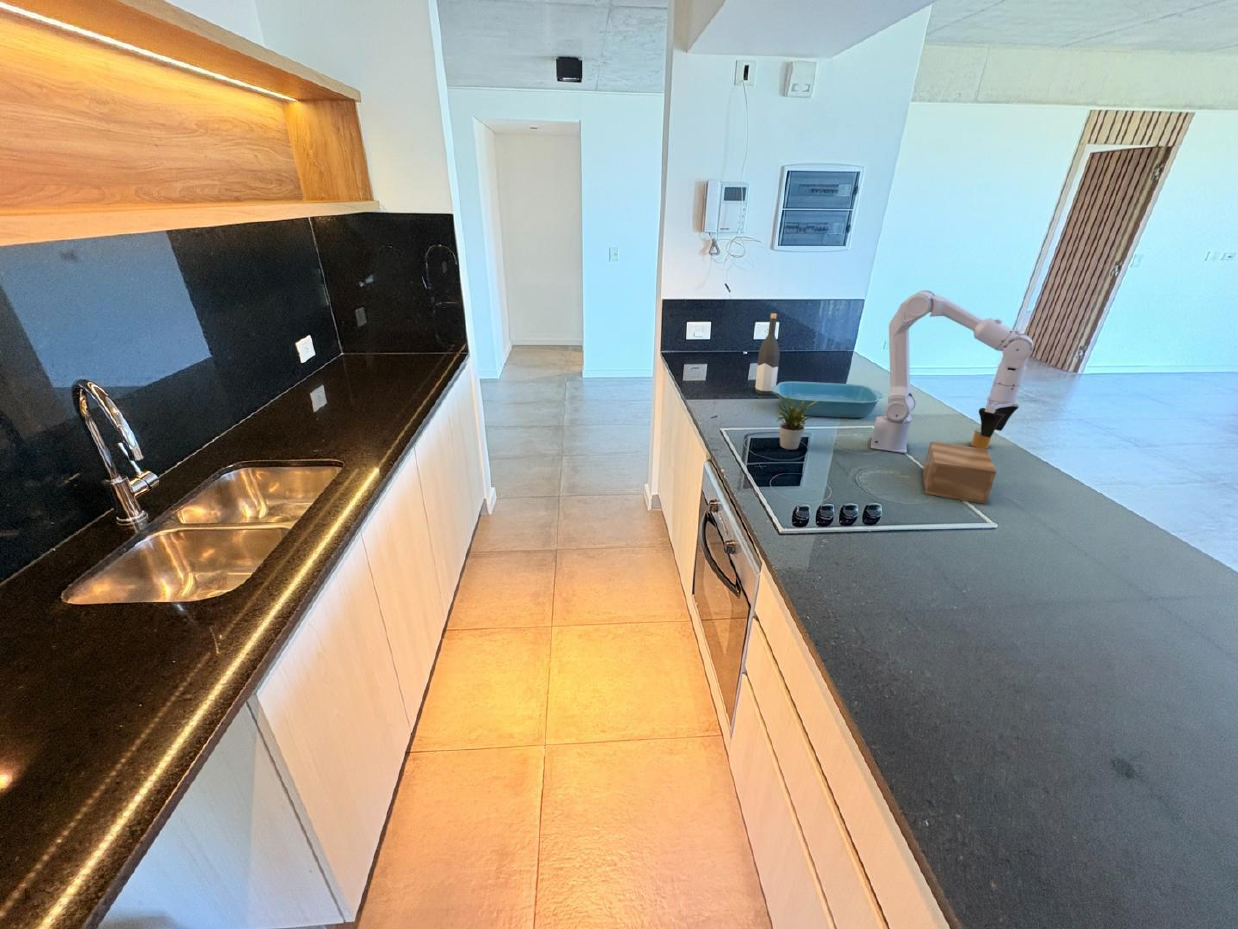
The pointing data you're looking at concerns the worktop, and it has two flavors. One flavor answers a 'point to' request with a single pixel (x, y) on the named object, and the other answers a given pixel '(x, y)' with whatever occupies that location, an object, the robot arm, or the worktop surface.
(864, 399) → the casserole dish
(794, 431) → the house plant
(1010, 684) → the worktop surface
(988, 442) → the jar
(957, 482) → the wooden box
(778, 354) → the wine bottle
